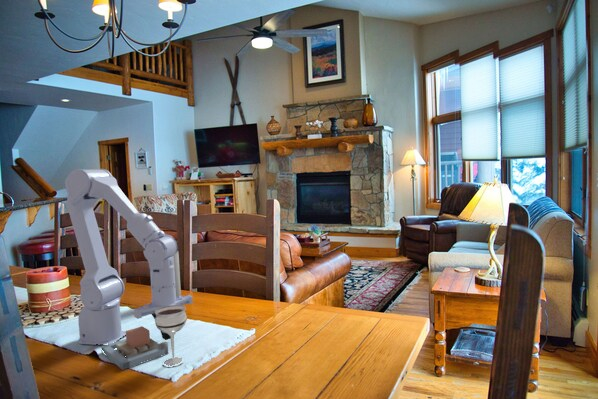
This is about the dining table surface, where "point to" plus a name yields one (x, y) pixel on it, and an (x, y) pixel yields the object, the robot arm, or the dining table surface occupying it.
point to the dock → (132, 361)
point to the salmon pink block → (137, 337)
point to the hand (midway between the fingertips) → (166, 338)
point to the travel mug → (177, 273)
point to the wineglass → (171, 325)
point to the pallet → (132, 352)
